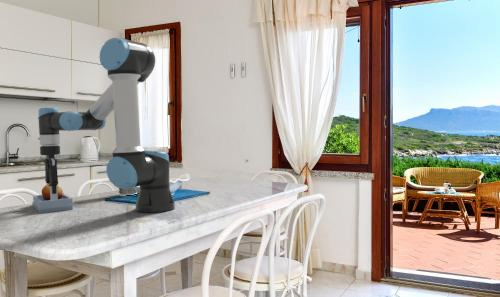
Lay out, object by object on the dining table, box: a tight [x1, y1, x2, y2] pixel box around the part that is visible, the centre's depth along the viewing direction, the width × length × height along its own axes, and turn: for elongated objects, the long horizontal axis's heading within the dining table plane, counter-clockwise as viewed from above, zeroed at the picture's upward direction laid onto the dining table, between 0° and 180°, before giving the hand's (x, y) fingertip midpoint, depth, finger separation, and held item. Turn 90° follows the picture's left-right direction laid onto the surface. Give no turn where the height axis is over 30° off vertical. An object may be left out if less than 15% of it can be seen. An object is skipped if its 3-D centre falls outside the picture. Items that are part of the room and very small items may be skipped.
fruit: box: [41, 183, 64, 201], centre depth 183 cm, size 8×8×8 cm
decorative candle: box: [118, 187, 138, 197], centre depth 213 cm, size 9×9×25 cm
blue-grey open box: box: [32, 192, 74, 214], centre depth 184 cm, size 12×22×4 cm, turn 33°
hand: (52, 200), depth 183 cm, fingers closed on fruit, 8 cm apart
